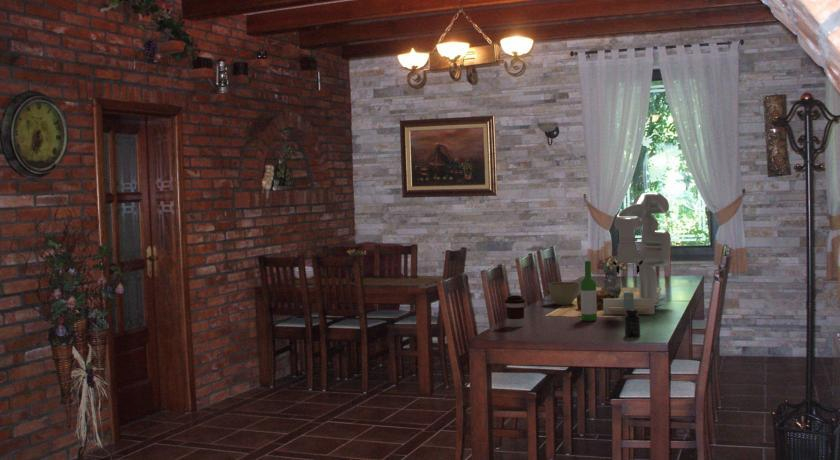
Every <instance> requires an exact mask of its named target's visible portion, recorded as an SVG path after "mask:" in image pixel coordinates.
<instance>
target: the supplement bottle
mask: <svg viewBox="0 0 840 460" xmlns="http://www.w3.org/2000/svg"><path fill="white" fill-rule="evenodd" d="M623 321H624V336H625V337H627V336H628V337H627V338H637V337H636V336H639V337H641V318H640V316H639V314H638V312H637V309H627V310H626V314H625V315H624V318H623Z"/></svg>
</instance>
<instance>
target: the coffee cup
mask: <svg viewBox="0 0 840 460" xmlns="http://www.w3.org/2000/svg"><path fill="white" fill-rule="evenodd" d="M525 303H526V299H525V298H523V296H522V295H519V294H518V295H516V294H514V295H513V294H512V295H508V296H507V297H506V298H505V299H504V304H505V310H506V318H507V326H508V327H510V328H521V327H520V326H522V327H524V319H525Z"/></svg>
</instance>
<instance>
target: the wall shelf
mask: <svg viewBox="0 0 840 460" xmlns="http://www.w3.org/2000/svg"><path fill="white" fill-rule="evenodd" d="M627 309H637V312H638V314H637V315H656V314H655V313H656V311H655V306H654V299H640V298H634V308H624V298H614V299H603V309H602V310H603V315H627V314H626V310H627Z"/></svg>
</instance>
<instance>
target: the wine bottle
mask: <svg viewBox="0 0 840 460" xmlns="http://www.w3.org/2000/svg"><path fill="white" fill-rule="evenodd" d="M591 263H592V262H591V260H585V261H584V277H583V279H581V281H580V293H581V309H580V313H581V314H580V317H581V320H582V321H583V322H594V321H595V322H596V321H597V319H598V313H597V311H598V310H597V303H596V291H597V282H596V281H595V278H593V277H592V267H591V266H592V265H591Z"/></svg>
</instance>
